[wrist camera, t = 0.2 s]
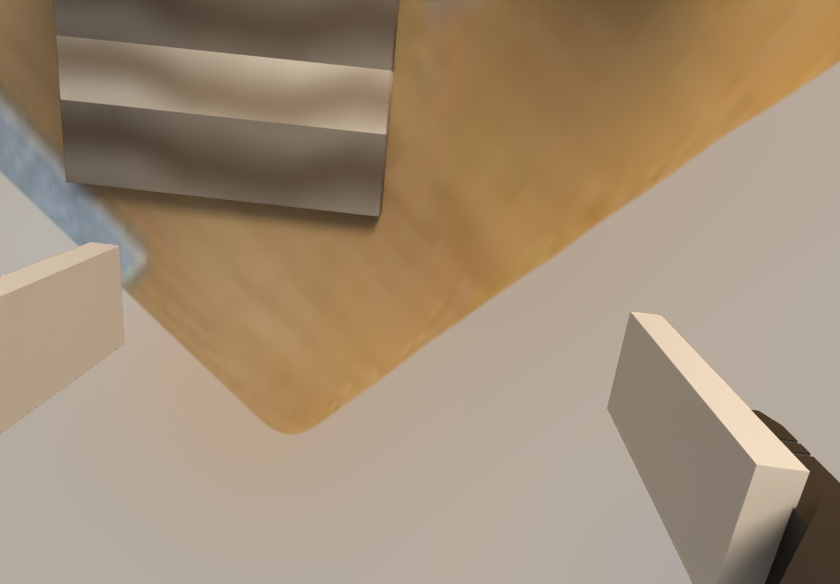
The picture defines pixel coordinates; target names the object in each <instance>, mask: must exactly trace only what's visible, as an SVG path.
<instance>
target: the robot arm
mask: <svg viewBox="0 0 840 584" xmlns="http://www.w3.org/2000/svg"><path fill="white" fill-rule="evenodd" d="M122 345H124V330H123V307H122V284H121V262H120V246H118V245H110V244H102V243H95V242H89V243H87V244H84V245H81V246H79V247H76V248H74V249H71V250H68V251H66V252H63V253H60V254H58V255H55V256H53V257H50V258H47V259H45V260H42V261H39V262H37V263H34V264H31V265H29V266H26V267H24V268H21V269H19V270H16V271H13V272H10V273H8V274H5V275H3V276H0V434H1V433H2V432H3V431H5V430H6V429H8V428H9V427H10V426H11V425H13V424H14V423H16V422H17V421H18V420H20V419H21V418H23V417H24V416H25V415H27V414H28V413H30V412H31V411H32V410H34V409H35V408H36V407H38V406H39V405H41V404H42V403H43V402H45V401H46V400H47V399H49V398H50V397H52V396H53V395H54V394H56V393H57V392H59V391H60V390H61V389H63V388H64V387H66V386H67V385H68V384H70V383H71V382H72V381H74V380H75V379H77V378H78V377H79V376H81V375H82V374H83V373H85V372H86V371H87V370H89V369H90V368H92V367H93V366H95V365H96V364H97V363H99V362H100V361H101V360H103V359H104V358H106V357H107V356H108V355H110V354H111V353H113V352H114V351H115V350H117V349H118V348H119V347H121V346H122ZM607 409H608V411H609V413H610V415H611V417H612V419H613V421H614V423H615V425H616V427H617V429H618V431H619V433H620V435H621V437H622V439H623V441H624V443H625V446H626V448H627V450H628V452H629V454H630V456H631V458H632V460H633V462H634V464H635V466H636V468H637V470H638V472H639V474H640V476H641V478H642V480H643V482H644V485H645V486H646V489H647V491H648V493H649V495H650V497H651V499H652V501H653V503H654V505H655V507H656V509H657V511H658V513H659V515H660V517H661V519H662V521H663V523H664V525H665V527H666V530H667V532H668V534H669V536H670V538H671V540H672V542H673V544H674V546H675V548H676V550H677V552H678V554H679V556H680V558H681V560H682V562H683V564H684V567H685V569H686V571H687V572H688V575H689V577H690V579H691V581H692V583H693V584H840V483H839V482H838V481H837V480H836V479H835V478H834V477H833V476H832V475H831V474H830V473H829V472H828V471H827V470H826V469H825V468H824V467H823V466H822V465H821V464H820V463H819V462H818V461H817V460H816V459H815V458H814V457H810V453H809V452H808V451H807V450H806V449H805V448H804V447H803V446H802V445H801V444H798V443H797V440H796V439H795V438H794V437H793V436H792V435H791V434H790V433H789V432H788V431H787V430H786V429H785V428H784V427H783V426H782V425H781V424H779V423H777V422H776V421H774V420H772V419H771V418H769V417H768V416H766V415H764V414H763V413H761V412H760V411H756V410H750V409H749V407H748V406H747V405H746V404H745V403H744V402H743V401H742V400H741V399H740V398H739V397H738V396H737V395H736V394H735V393H734V392H733V391H732V389H731V388H730V387H729V386H728V385H727V384H726V383H725V382H724V381H723V380H722V379H721V378H720V377H719V376H718V375H717V374H716V373H715V372H714V371H713V370H712V369H711V367H709V365H708V364H707V363H706V362H705V361H704V360H703V359H702V358H701V357H700V356H699V355H698V354H697V353H696V352H695V351H694V350H693V349H692V347H691V346H689V344H688V343H687V342H686V341H685V340H684V339H683V338H682V337H681V336H680V335H679V334H678V333H677V332H676V331H675V330H674V329H673V328H672V326H670V324H669V323H668V322H667V321H666V320H665V319H664V318H663V317H662V316H661V315H654V314H647V313H638V312H630V315H629V319H628V324H627V328H626V332H625V337H624V341H623V345H622V349H621V353H620V357H619V361H618V365H617V369H616V373H615V378H614V382H613V386H612V390H611V394H610V399H609V403H608V407H607Z"/></svg>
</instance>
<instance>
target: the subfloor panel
mask: <svg viewBox="0 0 840 584" xmlns="http://www.w3.org/2000/svg"><path fill="white" fill-rule="evenodd" d="M398 10H399V0H54V13H55V27H56V42H57V56H58V71H59V85H60V100H61V114H62V128H63V143H64V157H65V172H66V182H72V183H81V184H90V185H99V186H108V187H117V188H126V189H135V190H144V191H153V192H162V193H171V194H180V195H189V196H198V197H207V198H216V199H225V200H234V201H243V202H252V203H261V204H270V205H279V206H288V207H297V208H306V209H315V210H324V211H333V212H342V213H351V214H360V215H369V216H378V217H379V216H380V214H381V212H382V200H383V188H384V176H385V164H386V153H387V141H388V129H389V117H390V105H391V93H392V81H393V69H394V57H395V45H396V34H397V22H398Z"/></svg>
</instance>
